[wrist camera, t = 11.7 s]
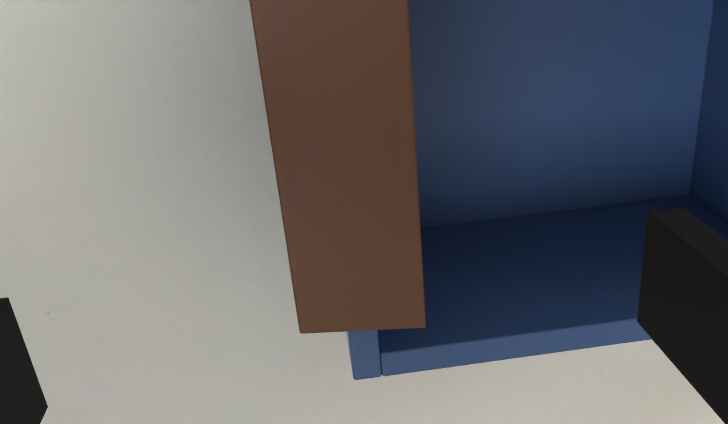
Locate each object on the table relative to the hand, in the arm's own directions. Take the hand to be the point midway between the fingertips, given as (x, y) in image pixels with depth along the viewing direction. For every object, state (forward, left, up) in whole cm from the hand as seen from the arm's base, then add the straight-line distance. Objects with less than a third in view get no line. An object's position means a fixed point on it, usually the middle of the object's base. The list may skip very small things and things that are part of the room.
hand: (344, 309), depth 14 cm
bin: (+9, +1, -17) cm, 19 cm away
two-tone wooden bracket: (+2, +1, -13) cm, 13 cm away
